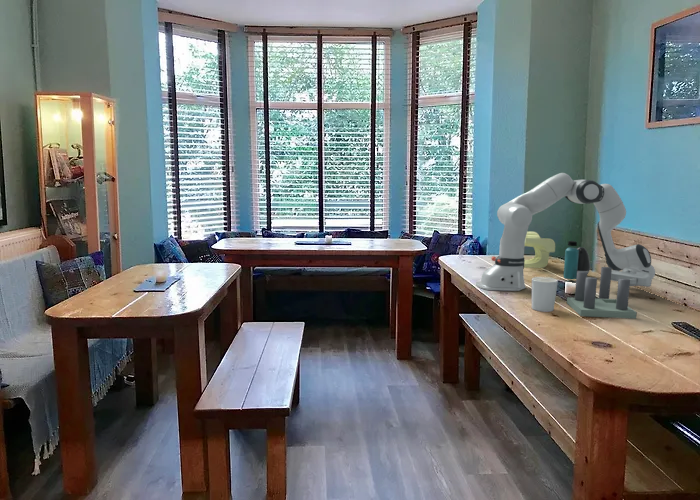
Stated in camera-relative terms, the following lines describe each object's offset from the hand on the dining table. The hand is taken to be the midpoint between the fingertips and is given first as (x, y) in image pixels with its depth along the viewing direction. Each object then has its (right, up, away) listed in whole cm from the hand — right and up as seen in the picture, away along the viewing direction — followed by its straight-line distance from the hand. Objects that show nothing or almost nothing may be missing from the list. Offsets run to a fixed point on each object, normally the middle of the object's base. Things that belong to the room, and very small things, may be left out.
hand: (616, 279), depth 241 cm
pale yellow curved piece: (-13, +4, +74) cm, 75 cm away
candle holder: (-40, -11, -22) cm, 47 cm away
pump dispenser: (+3, -1, +46) cm, 46 cm away
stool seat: (-18, -11, -23) cm, 31 cm away
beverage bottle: (-7, -3, +33) cm, 34 cm away
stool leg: (-8, -8, -5) cm, 13 cm away
